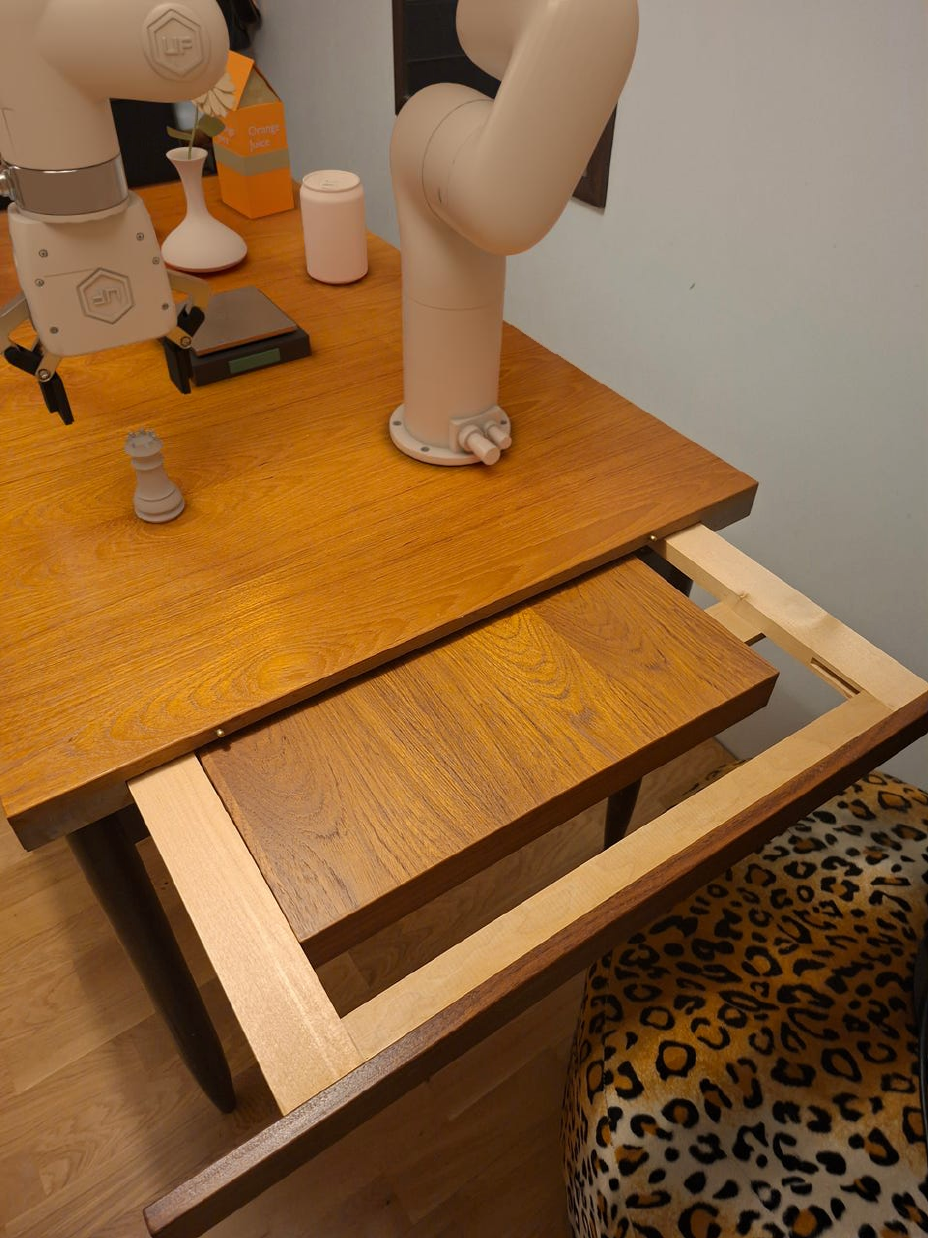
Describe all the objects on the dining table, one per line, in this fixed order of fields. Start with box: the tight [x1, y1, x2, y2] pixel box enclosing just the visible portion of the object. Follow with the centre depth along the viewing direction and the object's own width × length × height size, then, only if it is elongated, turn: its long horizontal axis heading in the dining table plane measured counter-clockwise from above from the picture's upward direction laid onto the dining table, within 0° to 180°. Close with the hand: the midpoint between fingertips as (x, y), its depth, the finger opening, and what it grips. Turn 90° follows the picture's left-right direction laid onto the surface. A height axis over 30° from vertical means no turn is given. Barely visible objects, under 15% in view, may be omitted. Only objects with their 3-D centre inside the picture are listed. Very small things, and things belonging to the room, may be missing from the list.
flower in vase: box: [160, 69, 248, 273], centre depth 110 cm, size 13×11×25 cm
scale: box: [156, 288, 312, 387], centre depth 102 cm, size 14×14×2 cm
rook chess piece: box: [123, 428, 185, 524], centre depth 77 cm, size 4×4×8 cm
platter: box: [164, 285, 297, 356], centre depth 100 cm, size 12×12×1 cm
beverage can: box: [299, 169, 369, 285], centre depth 113 cm, size 8×8×12 cm
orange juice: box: [211, 49, 295, 220], centre depth 126 cm, size 8×9×20 cm
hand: (124, 401), depth 72 cm, fingers open, 9 cm apart
